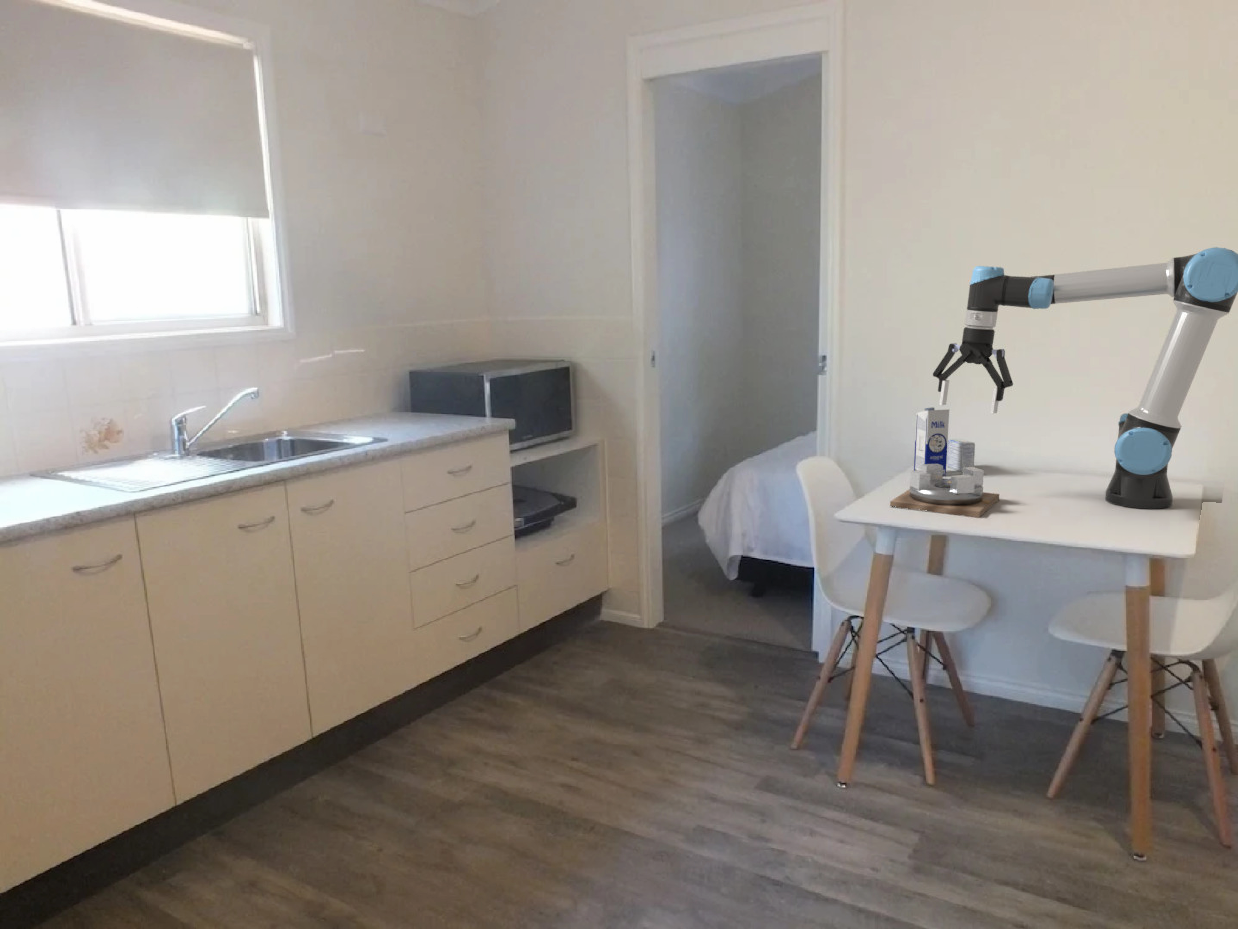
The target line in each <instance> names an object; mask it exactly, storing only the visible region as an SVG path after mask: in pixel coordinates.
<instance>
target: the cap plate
mask: <svg viewBox="0 0 1238 929" xmlns="http://www.w3.org/2000/svg"><path fill="white" fill-rule="evenodd" d="M999 500H1000V493H994V492H984V491H983V499H982V501H981V502H978V503H975V504H968V505H941V504H932V503H926V502H921V501H918V500H915V499H913V498H911V497H910V488H908V490H905V491H904V492H903V493H901V494H900V495H898V496H897V497H895V498H893V499H892V500H890V501H889V502H890V504H889V507H890V506H896V507H901V508H900V509H902V508H908V509H907V510H911V509H920V510H927V511H932V512H931V513H936V512H940V513H939V514H944V513H947V514H946V515H952V514H953V515H954V516H961V515H965V516H964V517H969V516H971V517H970V518H981V516H983V515H984V514H985V513H986V512H987V511H988V510H989V509H990V508H991V507H993V506H994V505H995V504H996V503H998V502H999ZM927 511H926V512H927Z"/></svg>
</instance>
